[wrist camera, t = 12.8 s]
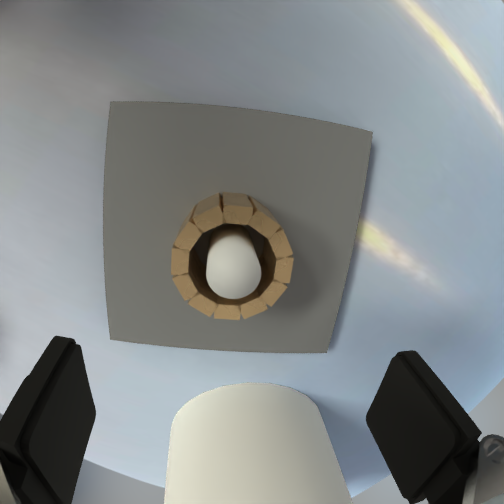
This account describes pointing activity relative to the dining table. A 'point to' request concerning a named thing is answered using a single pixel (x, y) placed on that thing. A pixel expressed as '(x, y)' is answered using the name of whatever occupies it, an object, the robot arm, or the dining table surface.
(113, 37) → the dining table surface
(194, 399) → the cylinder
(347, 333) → the dining table surface
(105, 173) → the stand
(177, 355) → the dining table surface
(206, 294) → the wooden stave ring
